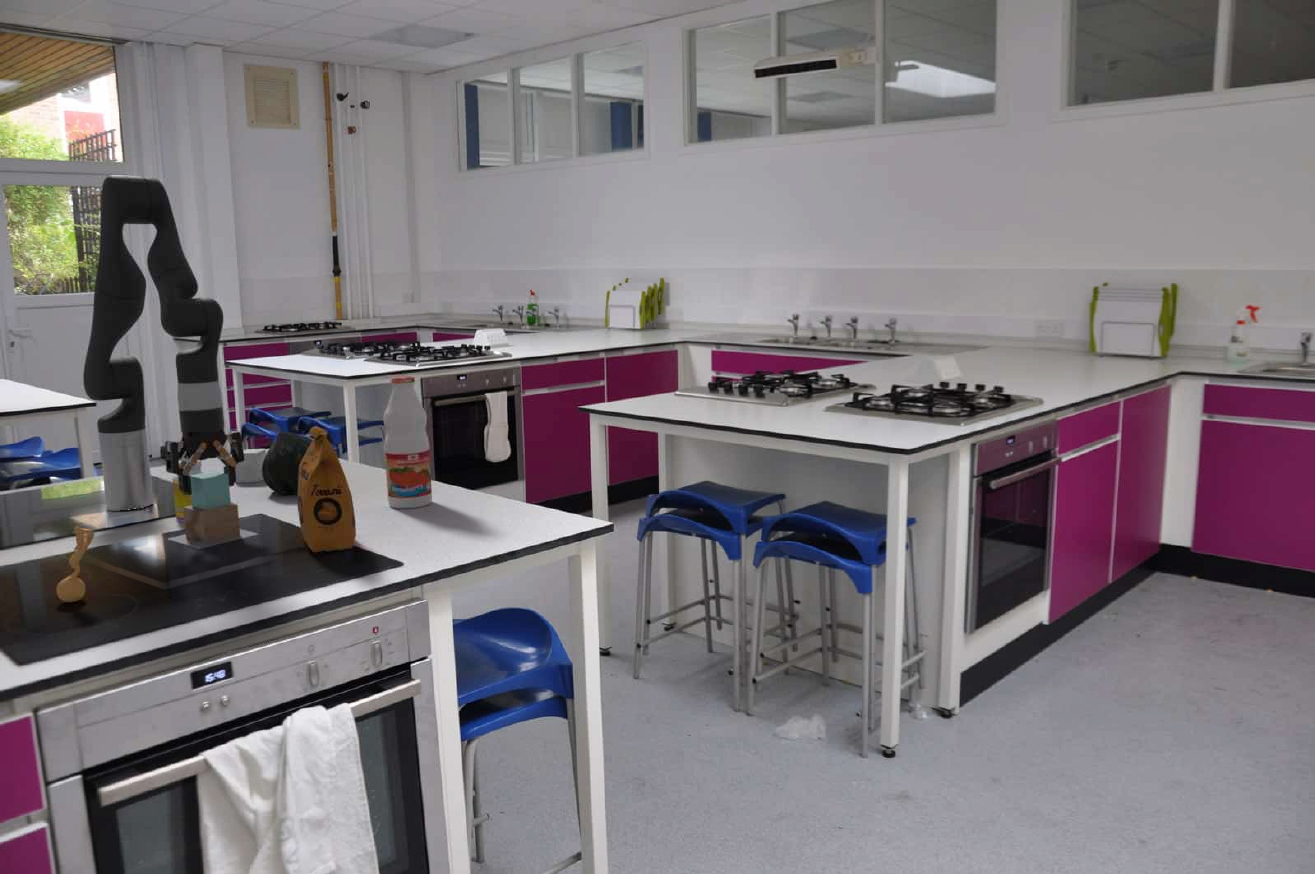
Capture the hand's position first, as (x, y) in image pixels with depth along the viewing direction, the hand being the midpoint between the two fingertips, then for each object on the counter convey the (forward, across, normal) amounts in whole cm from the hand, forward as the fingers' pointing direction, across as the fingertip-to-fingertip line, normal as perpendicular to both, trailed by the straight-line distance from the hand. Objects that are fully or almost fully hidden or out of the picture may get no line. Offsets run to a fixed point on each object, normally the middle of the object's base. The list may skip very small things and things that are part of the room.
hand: (208, 490), depth 192 cm
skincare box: (+10, -36, -46) cm, 59 cm away
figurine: (+10, +31, +15) cm, 36 cm away
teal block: (+3, 0, 0) cm, 3 cm away
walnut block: (+9, 0, 0) cm, 9 cm away
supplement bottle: (+10, -6, -18) cm, 22 cm away
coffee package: (+10, -11, +21) cm, 26 cm away
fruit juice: (+10, -41, +8) cm, 43 cm away
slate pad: (+10, 0, 0) cm, 10 cm away
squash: (+10, -35, -25) cm, 44 cm away
